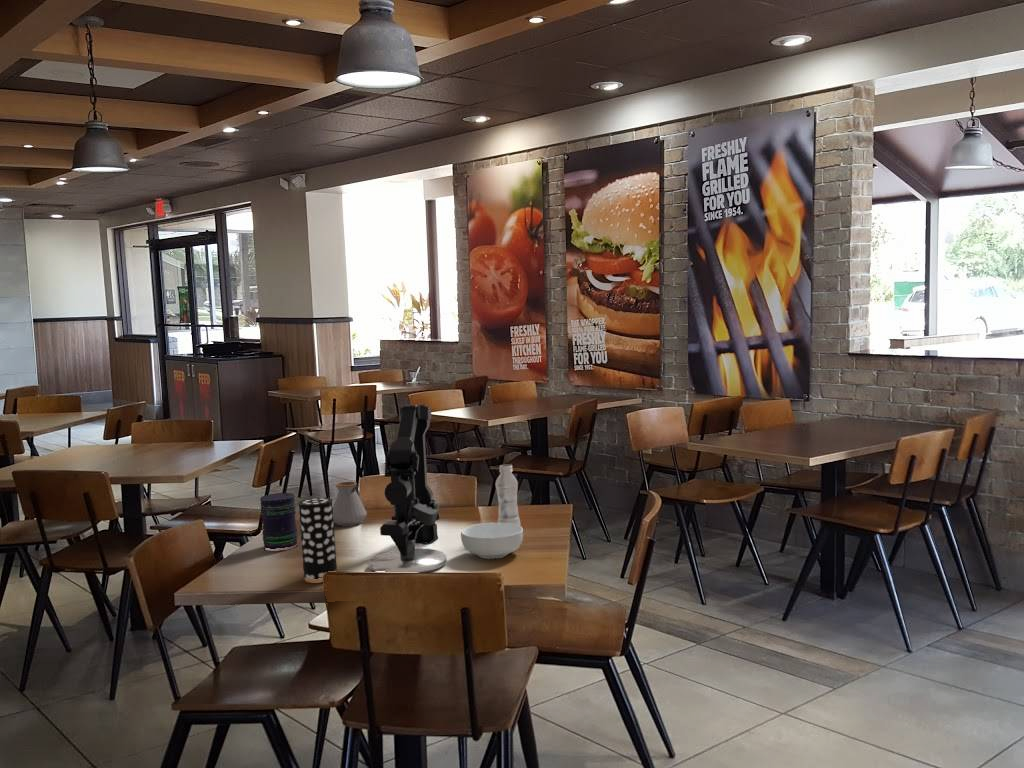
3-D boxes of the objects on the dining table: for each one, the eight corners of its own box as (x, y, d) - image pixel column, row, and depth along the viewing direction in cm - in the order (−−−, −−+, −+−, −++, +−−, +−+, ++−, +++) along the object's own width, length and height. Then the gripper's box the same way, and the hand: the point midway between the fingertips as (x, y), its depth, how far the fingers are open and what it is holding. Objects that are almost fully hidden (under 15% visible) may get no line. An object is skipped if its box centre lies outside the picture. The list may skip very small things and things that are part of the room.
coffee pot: (327, 522, 294) (324, 476, 292) (362, 517, 298) (359, 472, 297) (342, 536, 274) (338, 487, 273) (379, 531, 279) (376, 482, 277)
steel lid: (357, 573, 233) (355, 549, 232) (388, 551, 252) (387, 529, 252) (430, 576, 227) (429, 551, 227) (457, 553, 247) (455, 531, 246)
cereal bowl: (504, 566, 235) (503, 539, 234) (450, 560, 243) (448, 534, 242) (535, 549, 249) (534, 524, 249) (482, 544, 258) (481, 519, 257)
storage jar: (269, 553, 259) (265, 501, 257) (259, 546, 267) (255, 496, 266) (303, 547, 264) (299, 496, 263) (292, 540, 272) (288, 491, 271)
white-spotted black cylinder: (305, 585, 227) (299, 506, 225) (303, 576, 235) (297, 499, 233) (339, 581, 229) (333, 502, 228) (335, 572, 237) (330, 496, 236)
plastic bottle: (518, 535, 265) (515, 467, 263) (495, 535, 266) (492, 467, 265) (522, 529, 271) (519, 463, 269) (500, 529, 273) (497, 463, 271)
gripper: (417, 504, 227) (421, 565, 228) (446, 488, 244) (449, 545, 246) (377, 503, 230) (381, 563, 232) (408, 487, 248) (411, 543, 249)
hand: (407, 553), depth 240 cm, fingers closed on steel lid, 4 cm apart
